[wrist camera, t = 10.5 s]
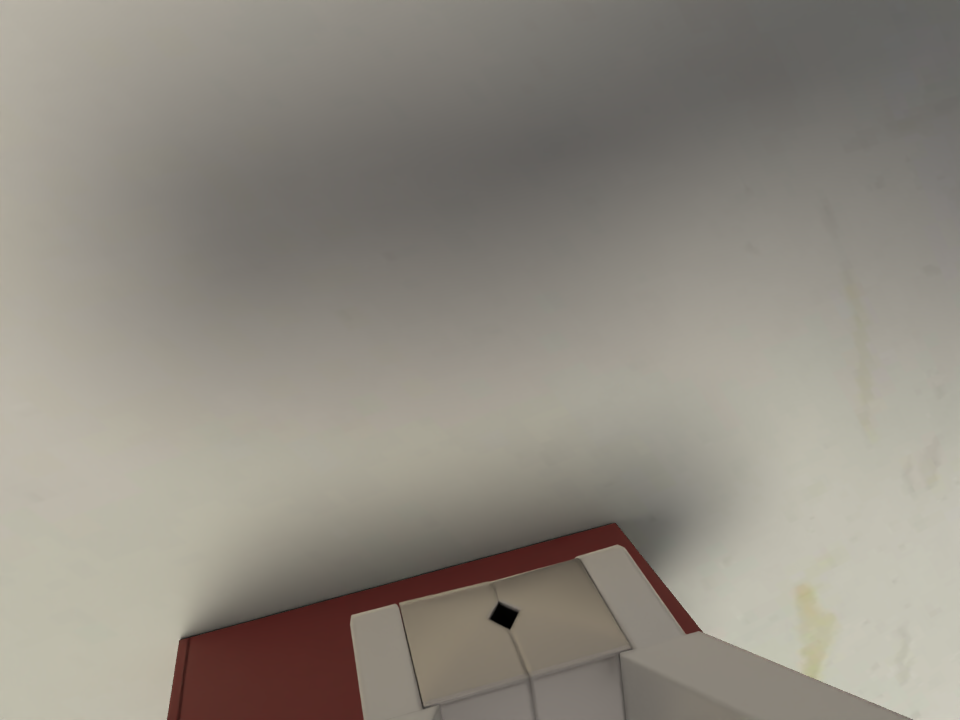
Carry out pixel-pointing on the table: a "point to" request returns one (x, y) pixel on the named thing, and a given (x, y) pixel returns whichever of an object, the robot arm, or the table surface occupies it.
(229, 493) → the table surface
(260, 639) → the hardcover
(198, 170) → the table surface
